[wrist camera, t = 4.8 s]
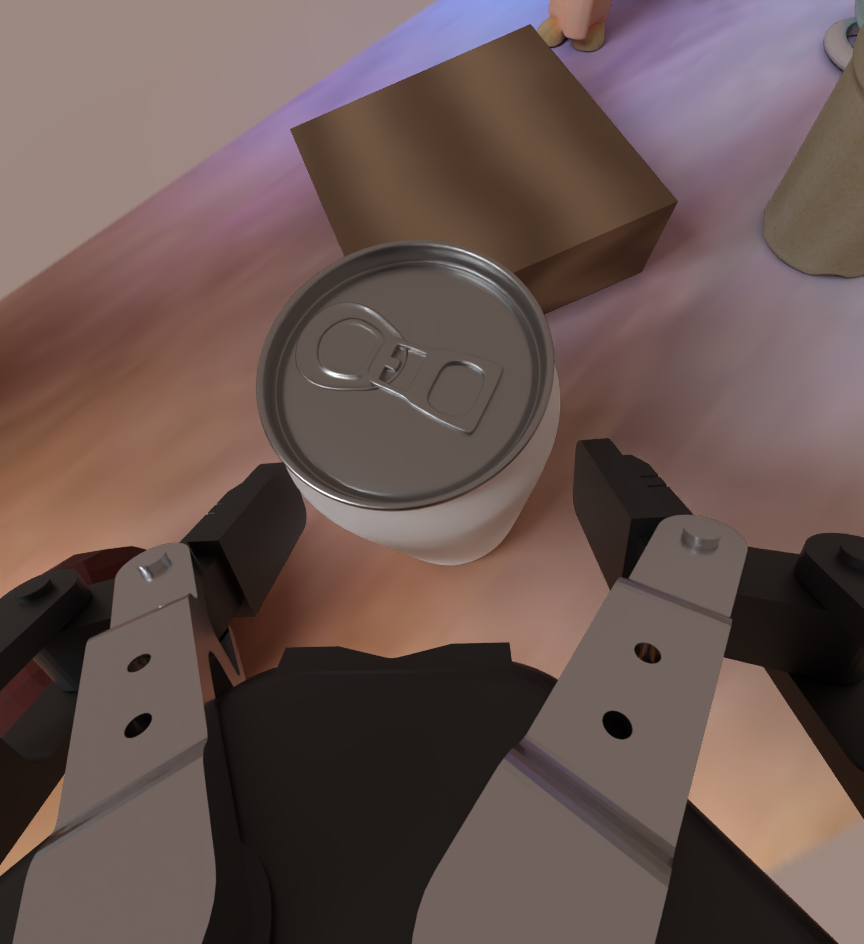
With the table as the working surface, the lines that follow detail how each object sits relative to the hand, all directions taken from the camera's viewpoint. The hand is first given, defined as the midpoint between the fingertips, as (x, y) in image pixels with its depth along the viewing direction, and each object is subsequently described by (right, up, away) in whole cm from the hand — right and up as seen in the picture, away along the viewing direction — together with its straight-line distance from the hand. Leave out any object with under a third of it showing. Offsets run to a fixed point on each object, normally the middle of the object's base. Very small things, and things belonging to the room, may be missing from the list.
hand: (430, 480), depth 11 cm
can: (+1, -1, +8) cm, 8 cm away
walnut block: (+2, +14, +12) cm, 18 cm away
